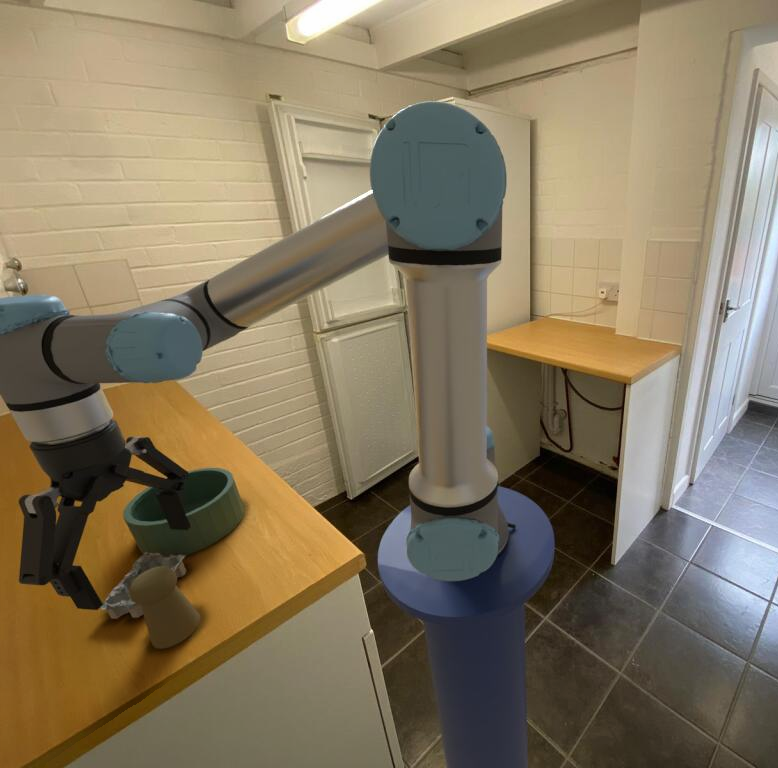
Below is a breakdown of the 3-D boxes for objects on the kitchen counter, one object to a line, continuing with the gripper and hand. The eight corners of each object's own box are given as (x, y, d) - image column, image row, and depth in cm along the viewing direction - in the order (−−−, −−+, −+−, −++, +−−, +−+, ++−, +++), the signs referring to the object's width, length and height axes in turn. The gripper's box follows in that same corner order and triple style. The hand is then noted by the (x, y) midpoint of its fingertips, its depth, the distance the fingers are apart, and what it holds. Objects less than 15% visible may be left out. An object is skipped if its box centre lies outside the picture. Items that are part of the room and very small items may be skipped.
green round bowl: (262, 499, 91) (252, 469, 87) (201, 562, 75) (186, 527, 72) (190, 496, 92) (177, 466, 89) (115, 556, 77) (96, 522, 74)
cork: (160, 618, 65) (132, 566, 60) (205, 606, 67) (181, 554, 62) (143, 654, 60) (111, 600, 55) (193, 640, 61) (165, 586, 57)
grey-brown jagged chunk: (156, 565, 75) (147, 548, 73) (196, 566, 74) (188, 548, 73) (99, 620, 65) (87, 601, 63) (145, 621, 64) (134, 602, 63)
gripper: (140, 386, 61) (188, 502, 69) (-108, 496, 38) (8, 649, 47) (187, 387, 60) (230, 504, 69) (-37, 500, 37) (68, 654, 46)
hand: (140, 563), depth 58 cm, fingers open, 13 cm apart
